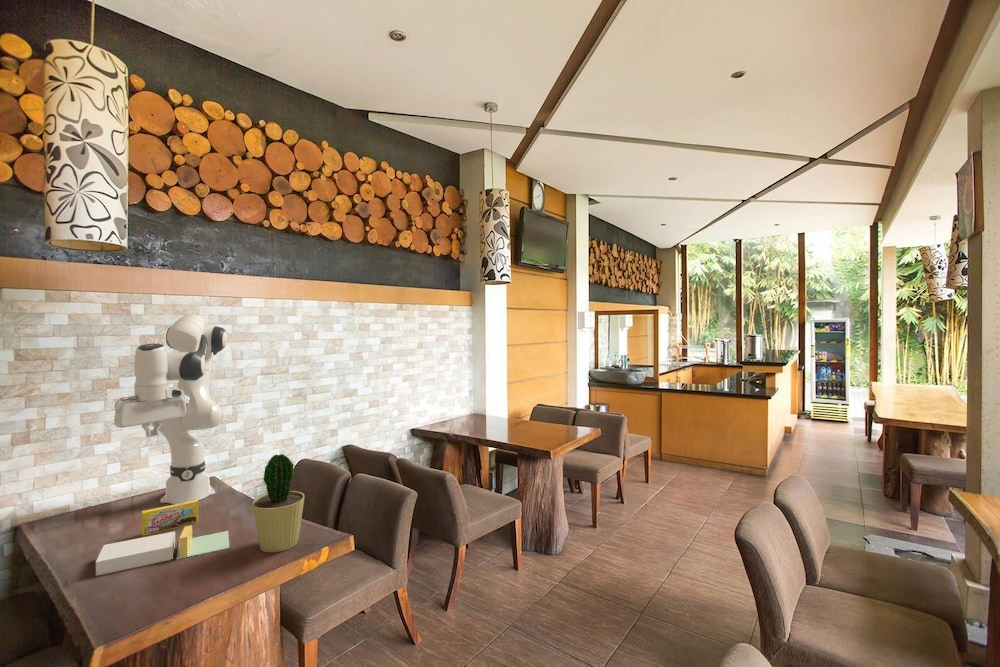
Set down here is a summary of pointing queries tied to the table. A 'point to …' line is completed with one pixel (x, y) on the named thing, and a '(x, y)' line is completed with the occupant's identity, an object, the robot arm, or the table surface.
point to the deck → (135, 553)
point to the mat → (207, 544)
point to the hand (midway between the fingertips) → (152, 435)
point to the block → (185, 541)
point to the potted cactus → (278, 507)
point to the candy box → (169, 517)
